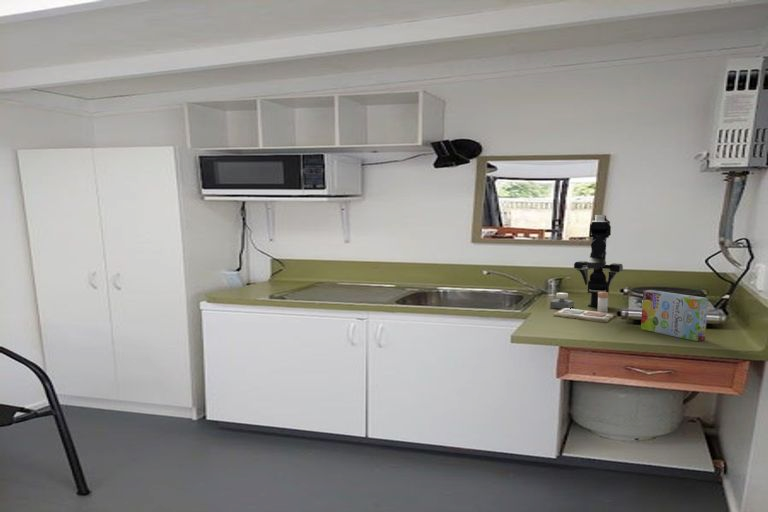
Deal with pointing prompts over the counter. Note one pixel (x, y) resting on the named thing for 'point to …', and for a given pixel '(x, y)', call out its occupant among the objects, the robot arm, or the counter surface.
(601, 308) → the orange topped white container
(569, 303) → the button base
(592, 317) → the picture board
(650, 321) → the snack box
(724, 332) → the counter surface
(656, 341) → the counter surface
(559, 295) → the button
